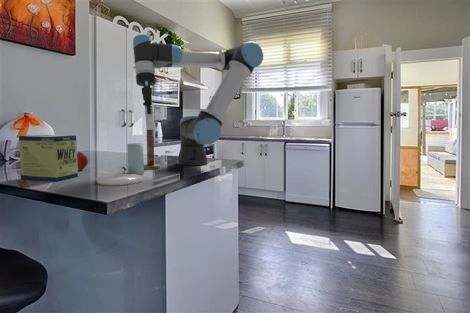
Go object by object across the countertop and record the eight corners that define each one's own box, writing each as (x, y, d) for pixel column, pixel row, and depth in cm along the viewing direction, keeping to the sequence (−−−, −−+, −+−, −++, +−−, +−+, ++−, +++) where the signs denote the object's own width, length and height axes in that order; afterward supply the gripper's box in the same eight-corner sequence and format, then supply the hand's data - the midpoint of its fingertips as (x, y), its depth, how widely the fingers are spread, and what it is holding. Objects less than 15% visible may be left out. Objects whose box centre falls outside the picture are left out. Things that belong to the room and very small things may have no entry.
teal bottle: (137, 172, 129) (137, 143, 128) (147, 174, 125) (146, 143, 124) (124, 174, 124) (124, 143, 123) (133, 176, 121) (133, 144, 119)
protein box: (57, 181, 108) (55, 136, 106) (20, 179, 112) (17, 135, 110) (79, 176, 118) (77, 135, 116) (44, 174, 122) (42, 134, 120)
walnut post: (152, 166, 147) (151, 123, 145) (163, 167, 142) (163, 123, 140) (137, 168, 140) (136, 123, 138) (149, 170, 136) (148, 123, 133)
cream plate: (126, 175, 121) (126, 172, 121) (151, 180, 112) (151, 177, 112) (88, 181, 109) (88, 178, 109) (112, 187, 100) (112, 183, 100)
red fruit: (81, 168, 137) (80, 150, 136) (91, 169, 135) (90, 151, 134) (69, 170, 132) (68, 151, 131) (80, 171, 130) (79, 152, 129)
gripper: (136, 84, 138) (141, 132, 136) (134, 62, 114) (139, 120, 112) (154, 84, 140) (158, 131, 138) (155, 62, 116) (160, 119, 114)
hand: (150, 126), depth 125 cm, fingers open, 13 cm apart
